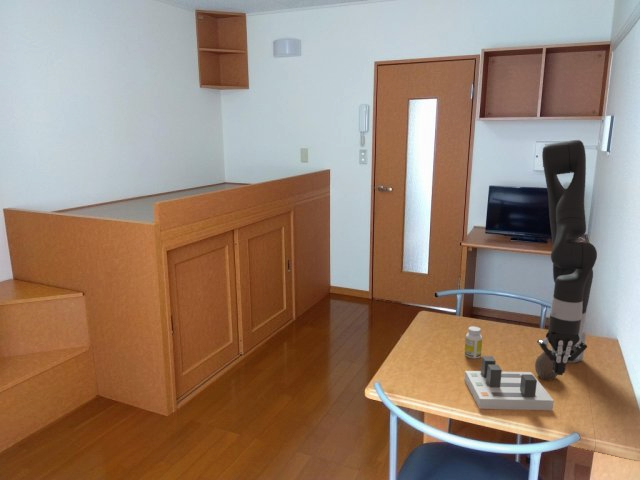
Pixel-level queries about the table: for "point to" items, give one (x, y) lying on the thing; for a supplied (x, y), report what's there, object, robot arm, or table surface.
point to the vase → (544, 367)
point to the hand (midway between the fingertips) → (557, 373)
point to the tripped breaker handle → (528, 385)
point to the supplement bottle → (473, 342)
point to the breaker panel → (504, 389)
